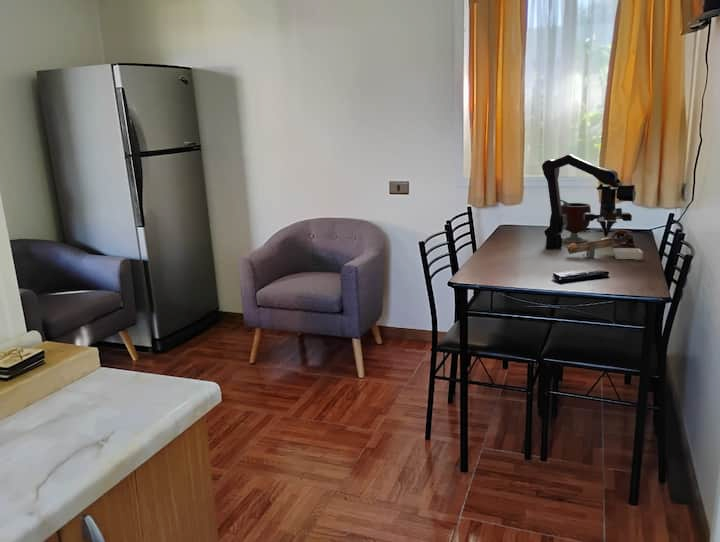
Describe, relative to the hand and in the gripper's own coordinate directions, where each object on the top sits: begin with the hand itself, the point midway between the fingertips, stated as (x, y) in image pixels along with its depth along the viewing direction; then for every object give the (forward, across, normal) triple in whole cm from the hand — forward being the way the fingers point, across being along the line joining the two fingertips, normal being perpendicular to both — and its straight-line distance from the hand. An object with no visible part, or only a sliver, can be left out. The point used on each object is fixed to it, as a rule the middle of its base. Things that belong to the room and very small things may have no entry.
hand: (605, 236), depth 260 cm
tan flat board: (+3, -7, -5) cm, 10 cm away
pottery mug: (+7, +11, +17) cm, 21 cm away
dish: (+7, +7, -10) cm, 14 cm away
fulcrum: (+7, -7, -10) cm, 14 cm away
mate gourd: (+7, -9, +28) cm, 30 cm away
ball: (+2, -15, -10) cm, 18 cm away
